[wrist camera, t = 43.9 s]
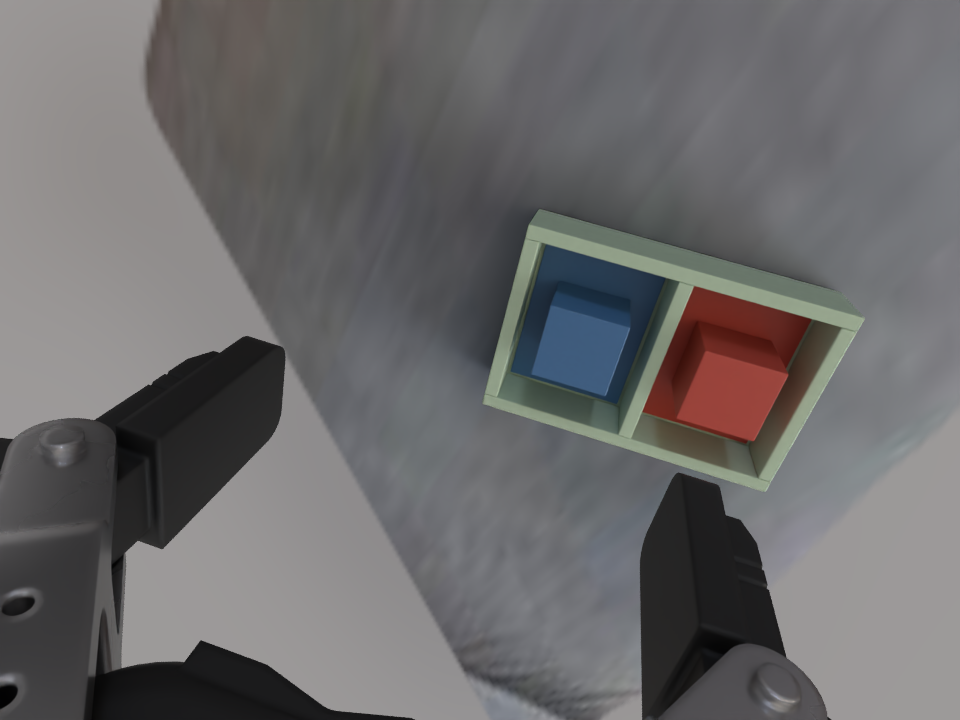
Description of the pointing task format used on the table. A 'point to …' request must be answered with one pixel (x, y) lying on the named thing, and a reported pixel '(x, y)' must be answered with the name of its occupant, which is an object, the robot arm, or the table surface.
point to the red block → (727, 381)
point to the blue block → (582, 338)
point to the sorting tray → (666, 344)
